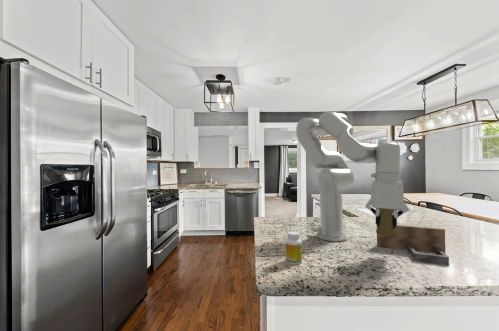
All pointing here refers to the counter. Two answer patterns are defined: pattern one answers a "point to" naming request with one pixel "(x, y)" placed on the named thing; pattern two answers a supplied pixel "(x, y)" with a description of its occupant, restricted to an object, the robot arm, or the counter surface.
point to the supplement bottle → (293, 248)
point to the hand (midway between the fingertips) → (385, 227)
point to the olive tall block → (386, 223)
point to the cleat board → (418, 243)
